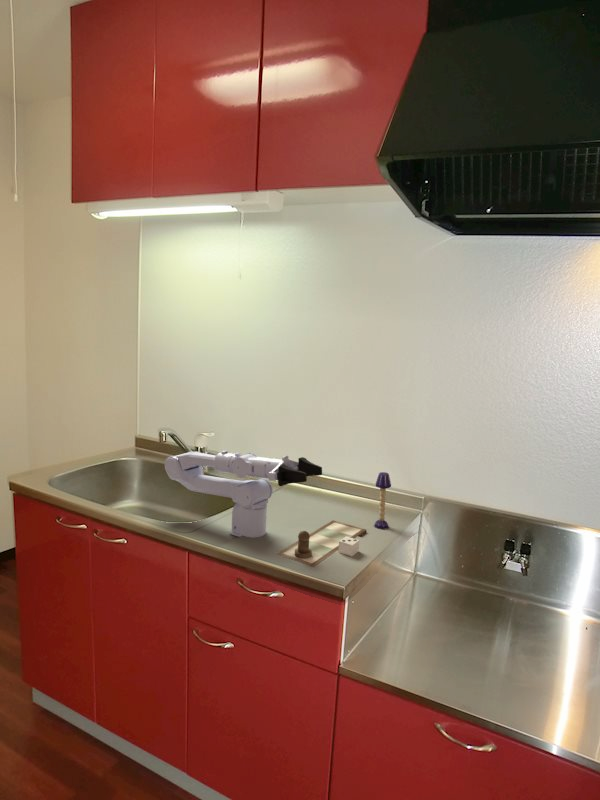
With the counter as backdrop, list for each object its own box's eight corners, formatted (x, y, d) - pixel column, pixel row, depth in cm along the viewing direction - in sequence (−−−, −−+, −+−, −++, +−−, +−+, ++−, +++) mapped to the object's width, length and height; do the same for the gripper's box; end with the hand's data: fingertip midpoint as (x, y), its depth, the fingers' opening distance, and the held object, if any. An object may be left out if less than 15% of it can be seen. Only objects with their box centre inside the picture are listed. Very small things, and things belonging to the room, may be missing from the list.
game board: (276, 556, 135) (276, 553, 135) (332, 522, 160) (332, 520, 160) (313, 569, 129) (313, 566, 129) (366, 532, 154) (366, 529, 154)
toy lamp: (370, 526, 158) (374, 473, 156) (375, 521, 162) (379, 470, 160) (385, 530, 156) (389, 476, 154) (390, 525, 160) (394, 472, 158)
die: (338, 555, 138) (339, 540, 137) (345, 550, 141) (346, 536, 141) (351, 559, 136) (352, 544, 135) (358, 554, 139) (359, 539, 139)
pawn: (291, 555, 135) (292, 531, 134) (300, 549, 138) (301, 526, 137) (305, 560, 132) (306, 536, 131) (314, 554, 136) (315, 530, 135)
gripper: (254, 459, 136) (298, 464, 128) (286, 449, 148) (327, 453, 140) (255, 485, 136) (298, 492, 129) (286, 473, 149) (328, 479, 141)
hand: (313, 474), depth 135 cm, fingers open, 7 cm apart
